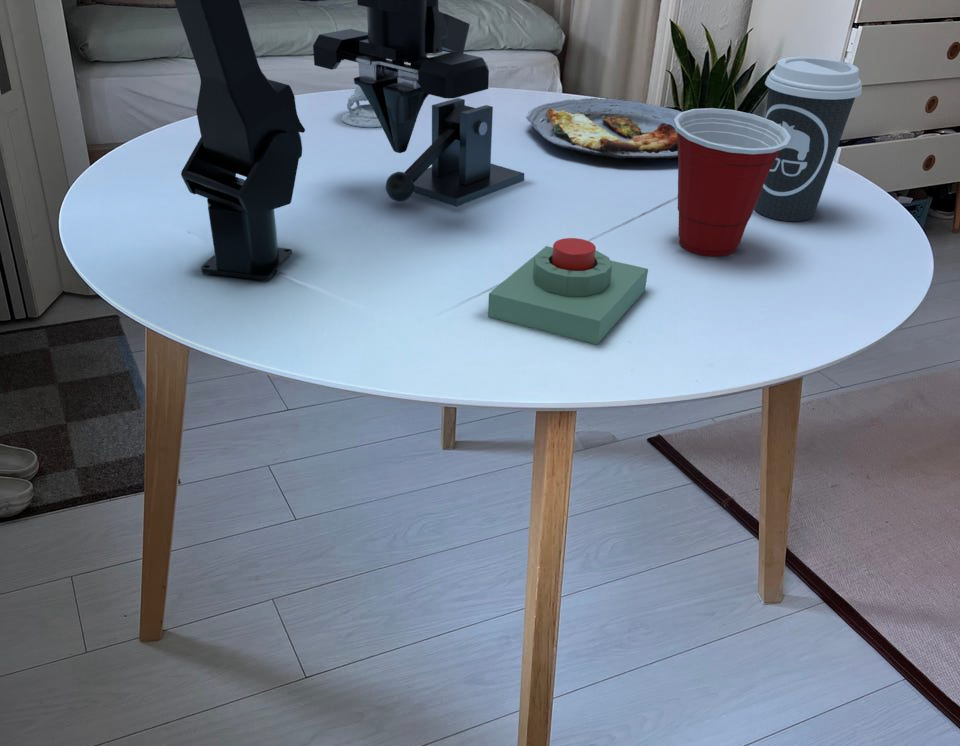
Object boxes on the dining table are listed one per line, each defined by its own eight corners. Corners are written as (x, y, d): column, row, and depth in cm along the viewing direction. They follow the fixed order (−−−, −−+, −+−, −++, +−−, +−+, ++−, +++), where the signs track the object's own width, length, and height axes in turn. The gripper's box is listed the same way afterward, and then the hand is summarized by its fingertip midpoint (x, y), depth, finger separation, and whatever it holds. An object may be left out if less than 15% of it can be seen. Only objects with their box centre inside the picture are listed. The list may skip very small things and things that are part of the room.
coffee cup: (842, 227, 98) (883, 77, 89) (755, 226, 97) (788, 75, 88) (809, 196, 105) (844, 55, 96) (728, 195, 105) (756, 54, 96)
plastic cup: (706, 277, 86) (732, 147, 79) (633, 237, 93) (650, 115, 86) (787, 255, 91) (818, 131, 84) (711, 220, 98) (733, 102, 91)
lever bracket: (456, 209, 98) (458, 125, 93) (395, 189, 103) (393, 107, 97) (524, 183, 106) (529, 103, 100) (464, 165, 110) (466, 88, 105)
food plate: (744, 169, 113) (750, 139, 111) (564, 177, 108) (567, 147, 106) (663, 114, 132) (666, 88, 130) (508, 119, 127) (509, 92, 125)
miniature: (392, 129, 121) (391, 90, 119) (335, 125, 122) (332, 87, 119) (404, 113, 128) (403, 76, 125) (349, 109, 128) (347, 72, 126)
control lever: (405, 210, 96) (397, 187, 94) (385, 203, 98) (376, 181, 95) (483, 129, 101) (476, 105, 98) (462, 124, 102) (455, 100, 100)
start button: (584, 277, 76) (586, 257, 75) (544, 268, 78) (546, 248, 77) (599, 262, 79) (602, 243, 78) (561, 253, 80) (563, 234, 79)
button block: (597, 345, 74) (602, 300, 72) (487, 317, 78) (489, 272, 75) (645, 291, 83) (651, 249, 81) (544, 267, 86) (547, 226, 84)
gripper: (528, -15, 86) (519, 154, 95) (385, -38, 95) (389, 118, 104) (450, -2, 78) (448, 180, 88) (303, -29, 88) (316, 138, 97)
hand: (400, 151), depth 94 cm, fingers closed
